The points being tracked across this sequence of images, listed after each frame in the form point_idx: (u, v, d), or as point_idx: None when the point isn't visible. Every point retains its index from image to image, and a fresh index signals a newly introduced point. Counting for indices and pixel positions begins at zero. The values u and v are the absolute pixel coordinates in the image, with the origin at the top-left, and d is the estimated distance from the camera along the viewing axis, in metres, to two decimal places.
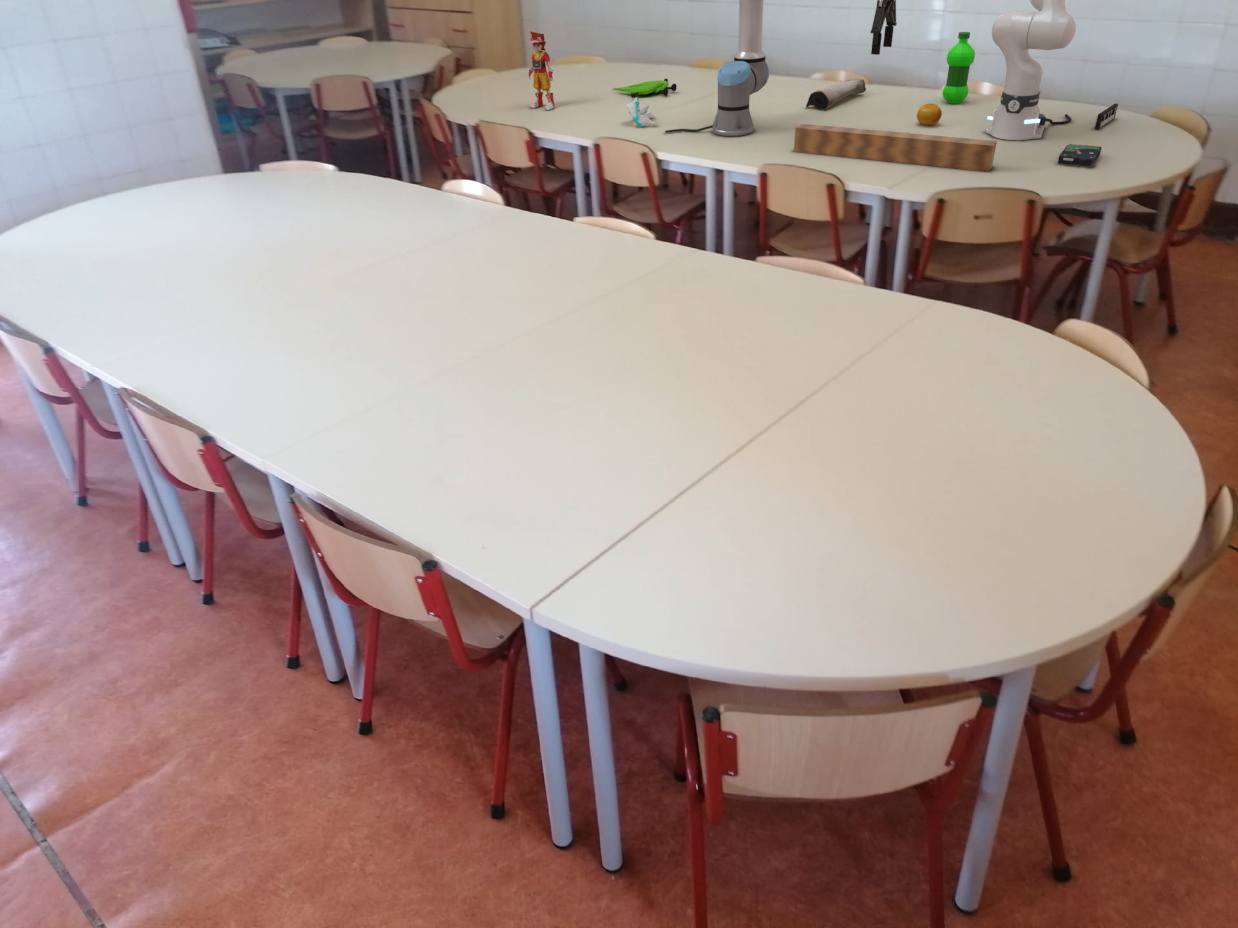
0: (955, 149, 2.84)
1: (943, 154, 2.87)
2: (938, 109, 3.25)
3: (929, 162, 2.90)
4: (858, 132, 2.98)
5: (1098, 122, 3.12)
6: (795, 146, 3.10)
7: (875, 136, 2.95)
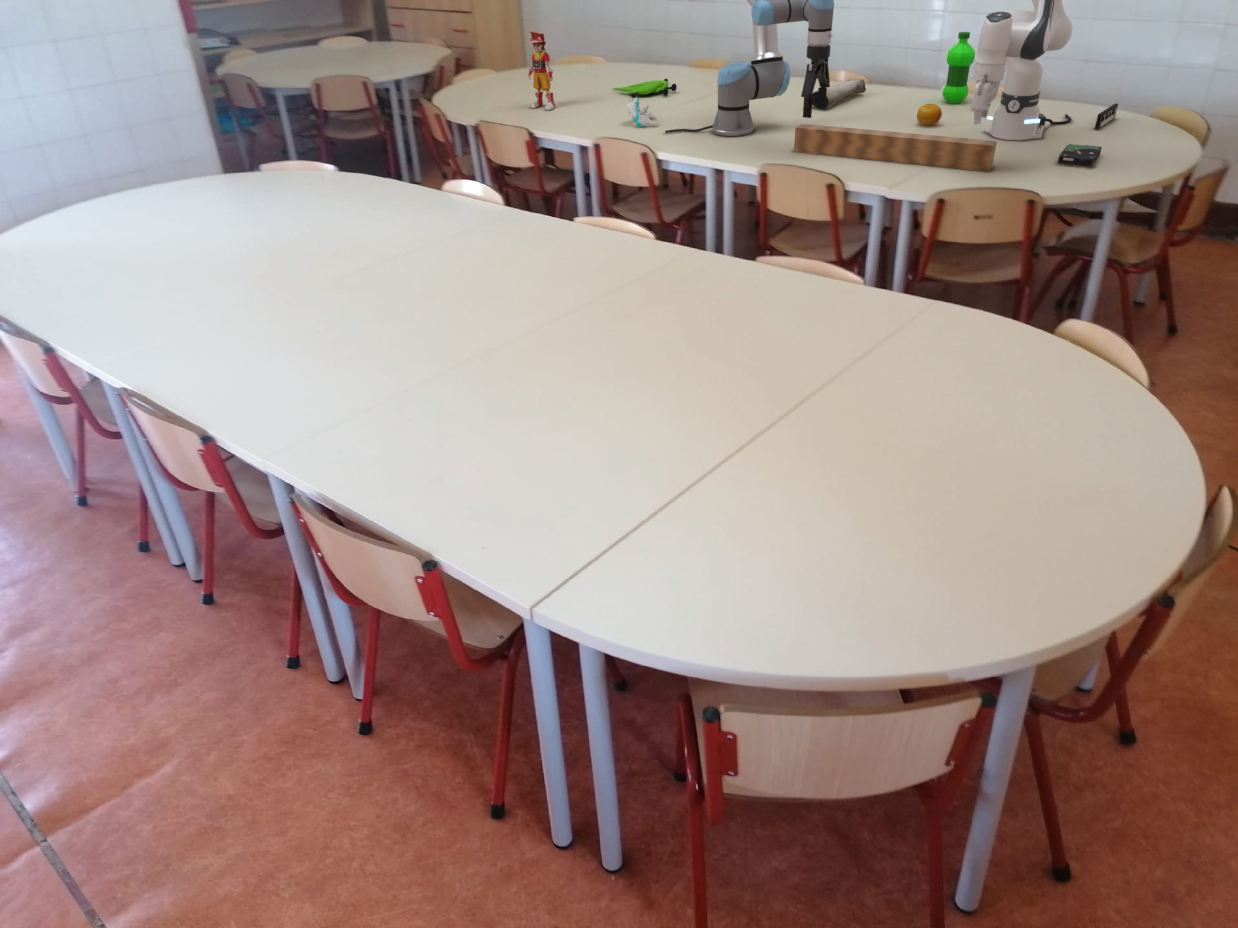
0: (955, 149, 2.84)
1: (943, 154, 2.87)
2: (938, 109, 3.25)
3: (929, 162, 2.90)
4: (858, 132, 2.98)
5: (1098, 122, 3.12)
6: (795, 146, 3.10)
7: (875, 136, 2.95)
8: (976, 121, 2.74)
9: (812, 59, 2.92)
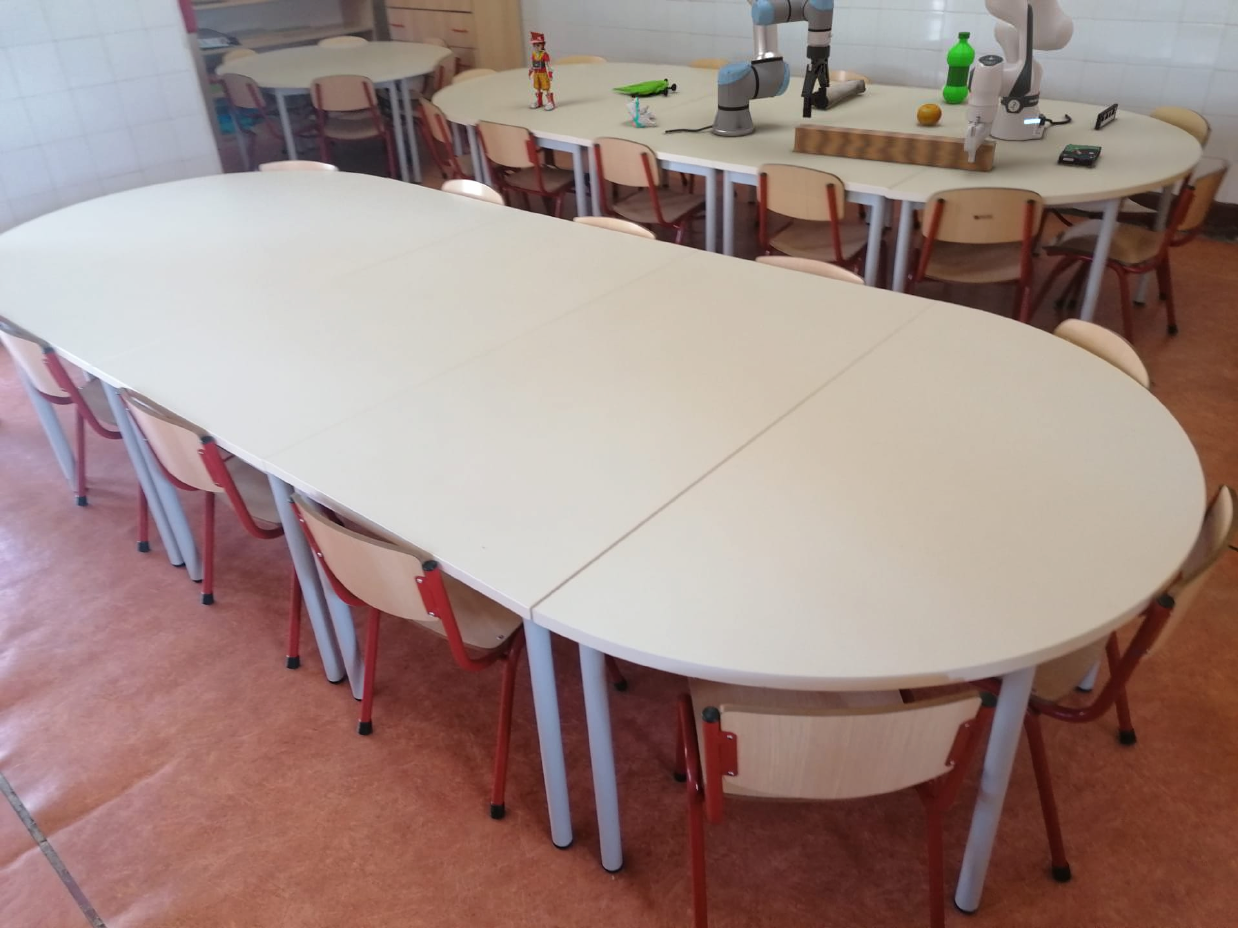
0: (955, 149, 2.84)
1: (943, 154, 2.87)
2: (938, 109, 3.25)
3: (929, 162, 2.90)
4: (858, 132, 2.98)
5: (1098, 122, 3.12)
6: (795, 146, 3.10)
7: (875, 136, 2.95)
8: (970, 159, 2.82)
9: (812, 59, 2.92)
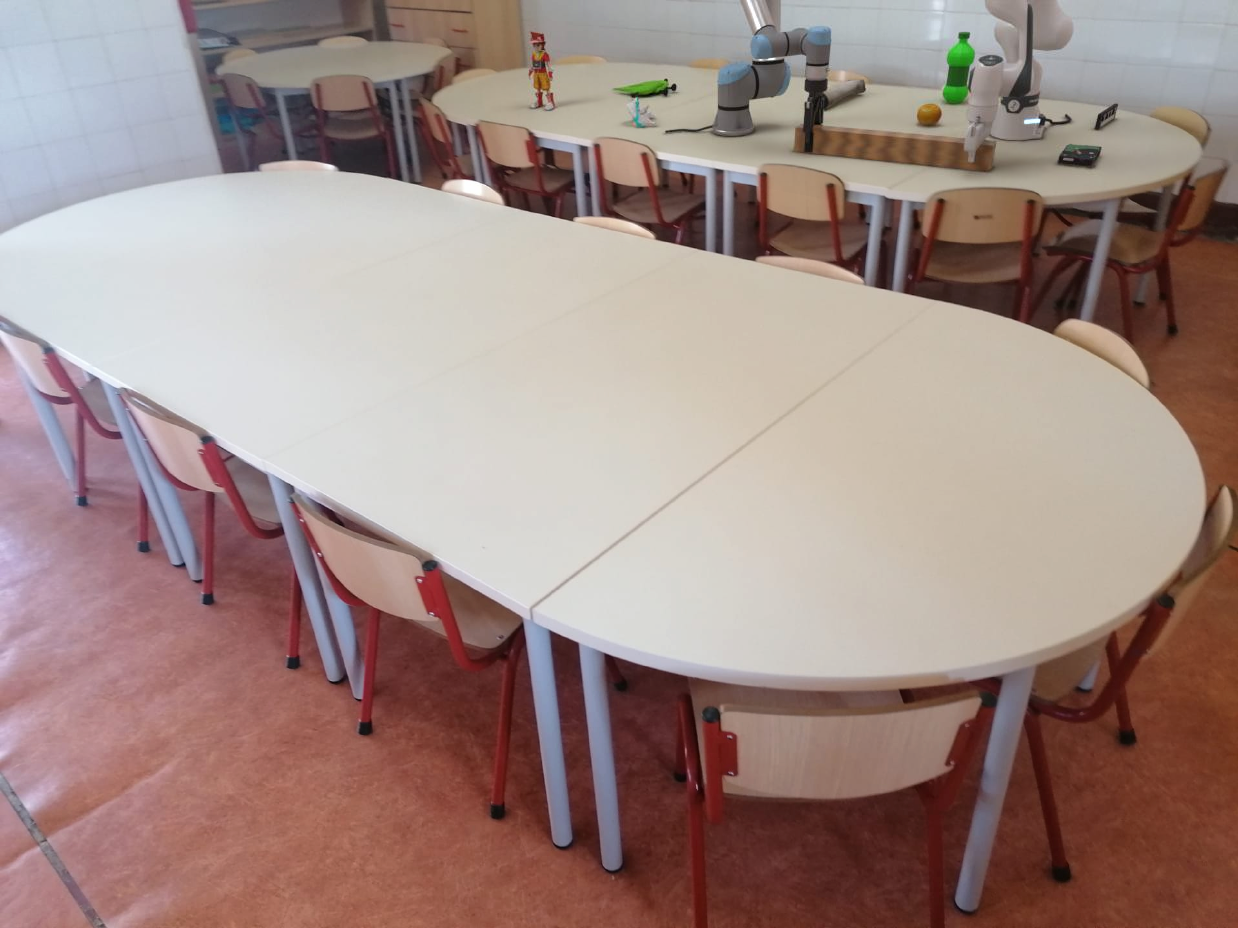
0: (955, 149, 2.84)
1: (943, 154, 2.87)
2: (938, 109, 3.25)
3: (929, 162, 2.90)
4: (858, 132, 2.98)
5: (1098, 122, 3.12)
6: (795, 146, 3.10)
7: (875, 136, 2.95)
8: (970, 159, 2.82)
9: (810, 92, 2.97)
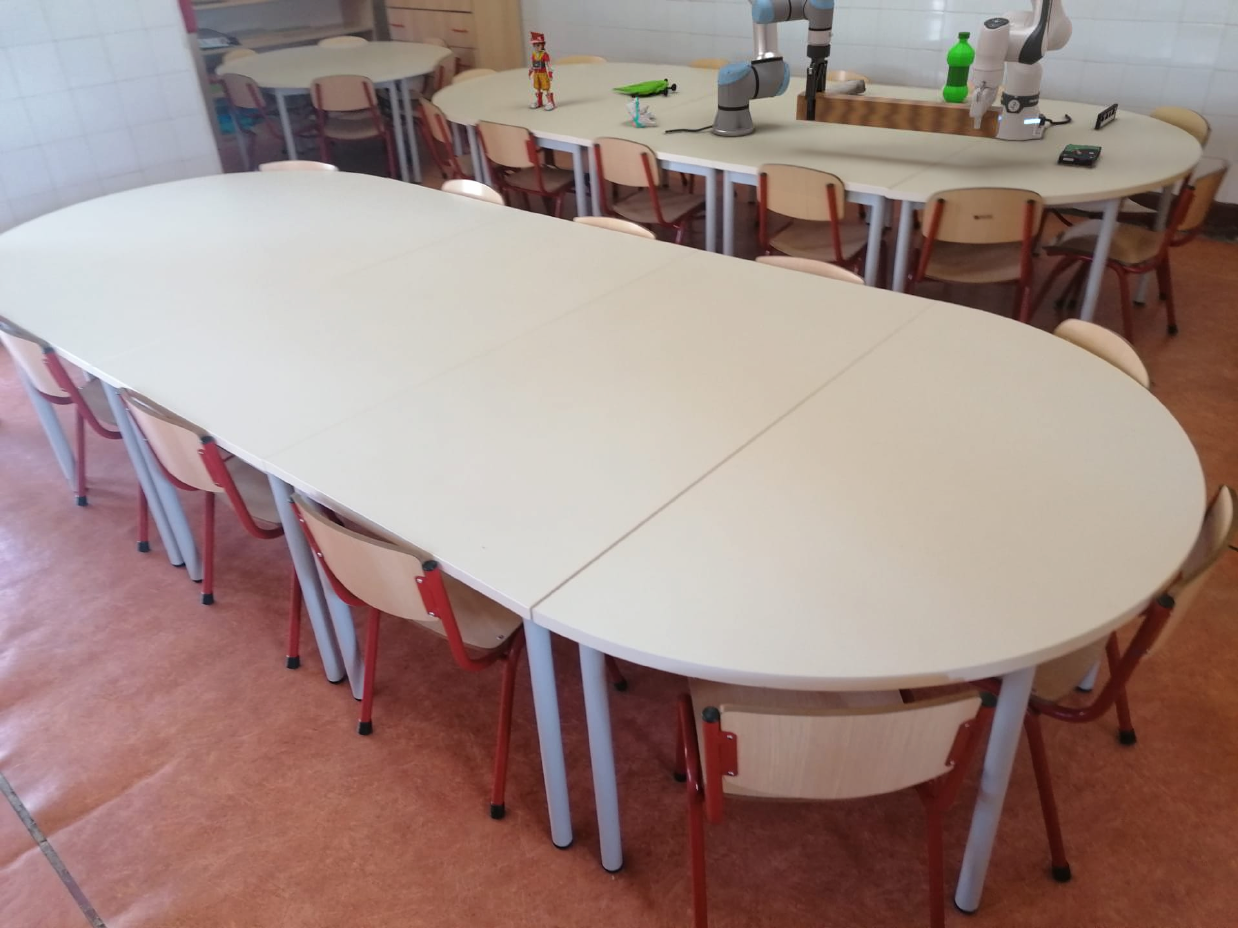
0: (961, 116, 2.79)
1: (948, 121, 2.81)
2: None
3: (934, 130, 2.85)
4: (861, 99, 2.92)
5: (1098, 122, 3.12)
6: (797, 114, 3.04)
7: (879, 103, 2.89)
8: (976, 126, 2.77)
9: (812, 58, 2.91)
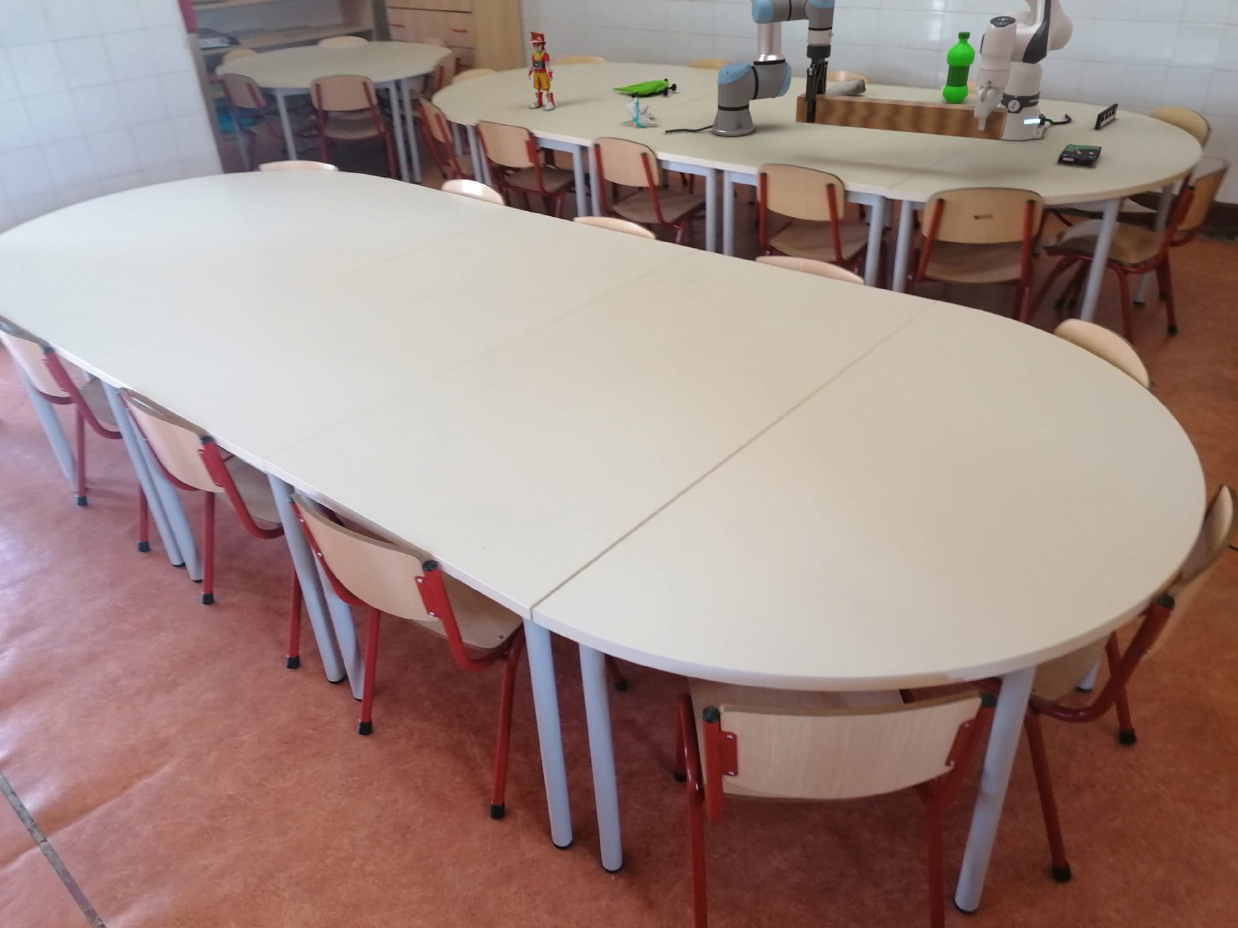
0: (965, 117, 2.71)
1: (951, 123, 2.74)
2: None
3: (937, 131, 2.77)
4: (863, 100, 2.85)
5: (1098, 122, 3.12)
6: (797, 116, 2.97)
7: (880, 104, 2.82)
8: (980, 127, 2.69)
9: (812, 59, 2.85)
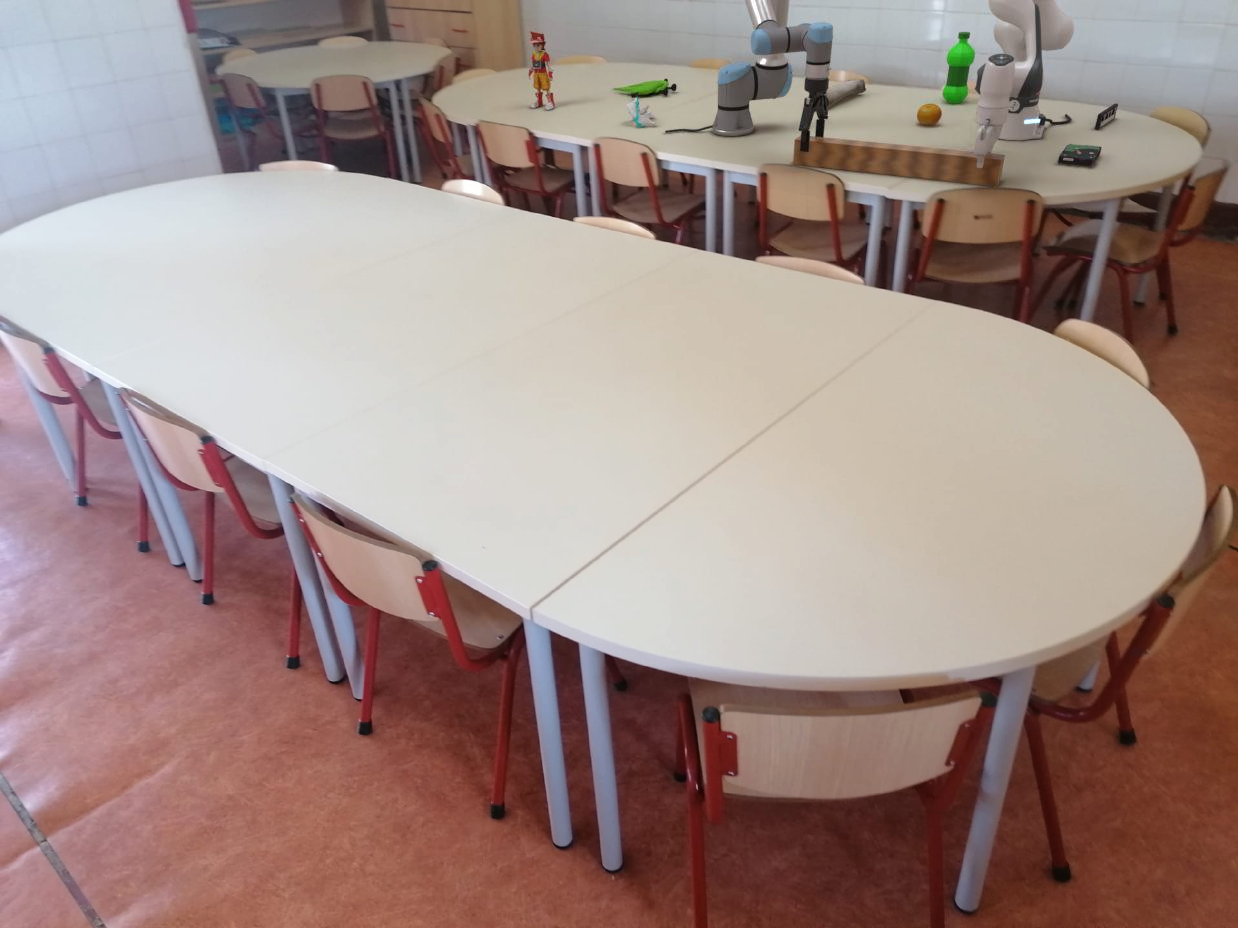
0: (962, 163, 2.72)
1: (948, 168, 2.75)
2: (938, 109, 3.25)
3: (934, 176, 2.78)
4: (860, 144, 2.86)
5: (1098, 122, 3.12)
6: (794, 158, 2.98)
7: (878, 149, 2.83)
8: (979, 164, 2.68)
9: (810, 92, 2.83)
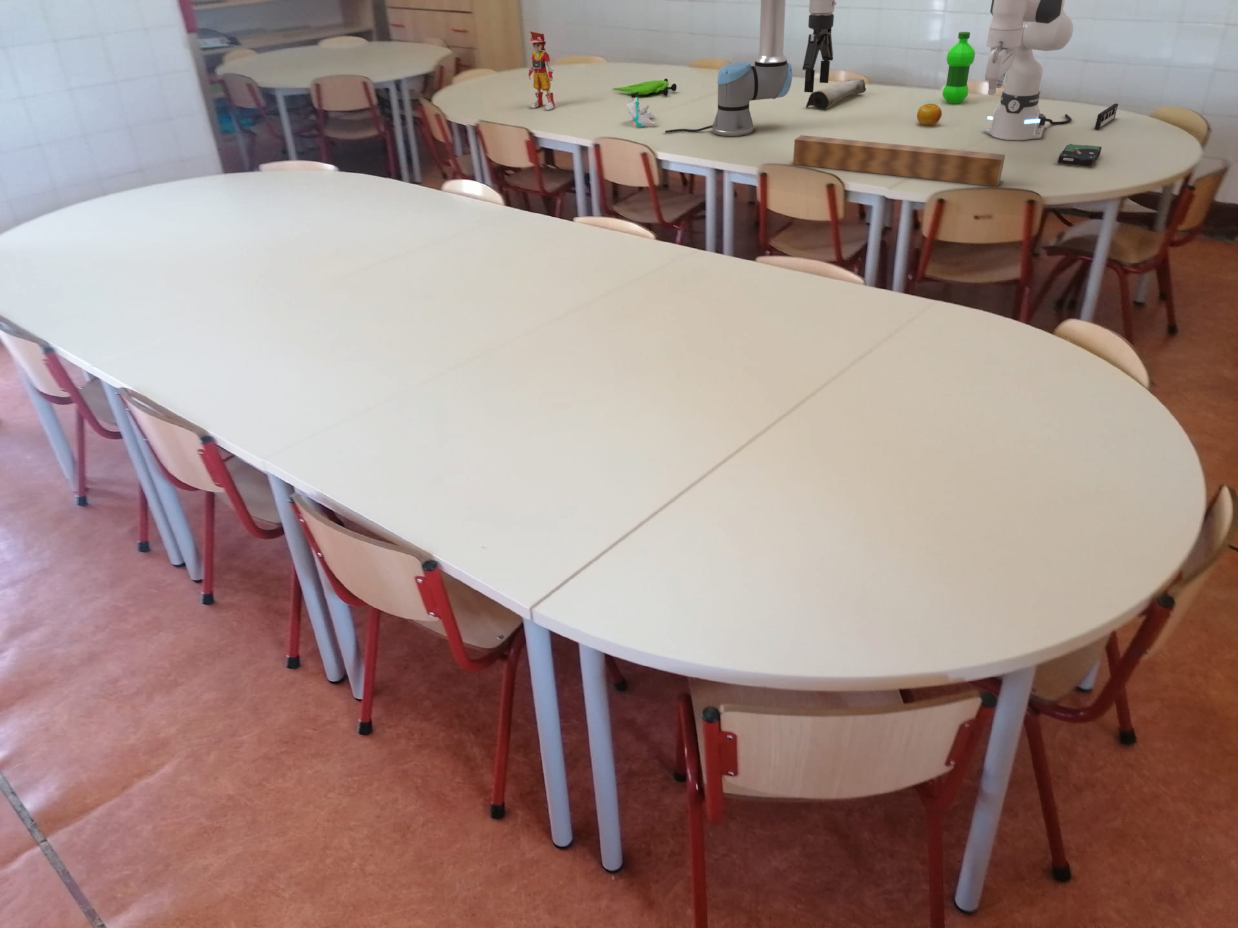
0: (962, 163, 2.72)
1: (948, 168, 2.75)
2: (938, 109, 3.25)
3: (934, 176, 2.78)
4: (860, 144, 2.86)
5: (1098, 122, 3.12)
6: (794, 158, 2.98)
7: (878, 149, 2.83)
8: (991, 92, 2.56)
9: (814, 29, 2.73)
